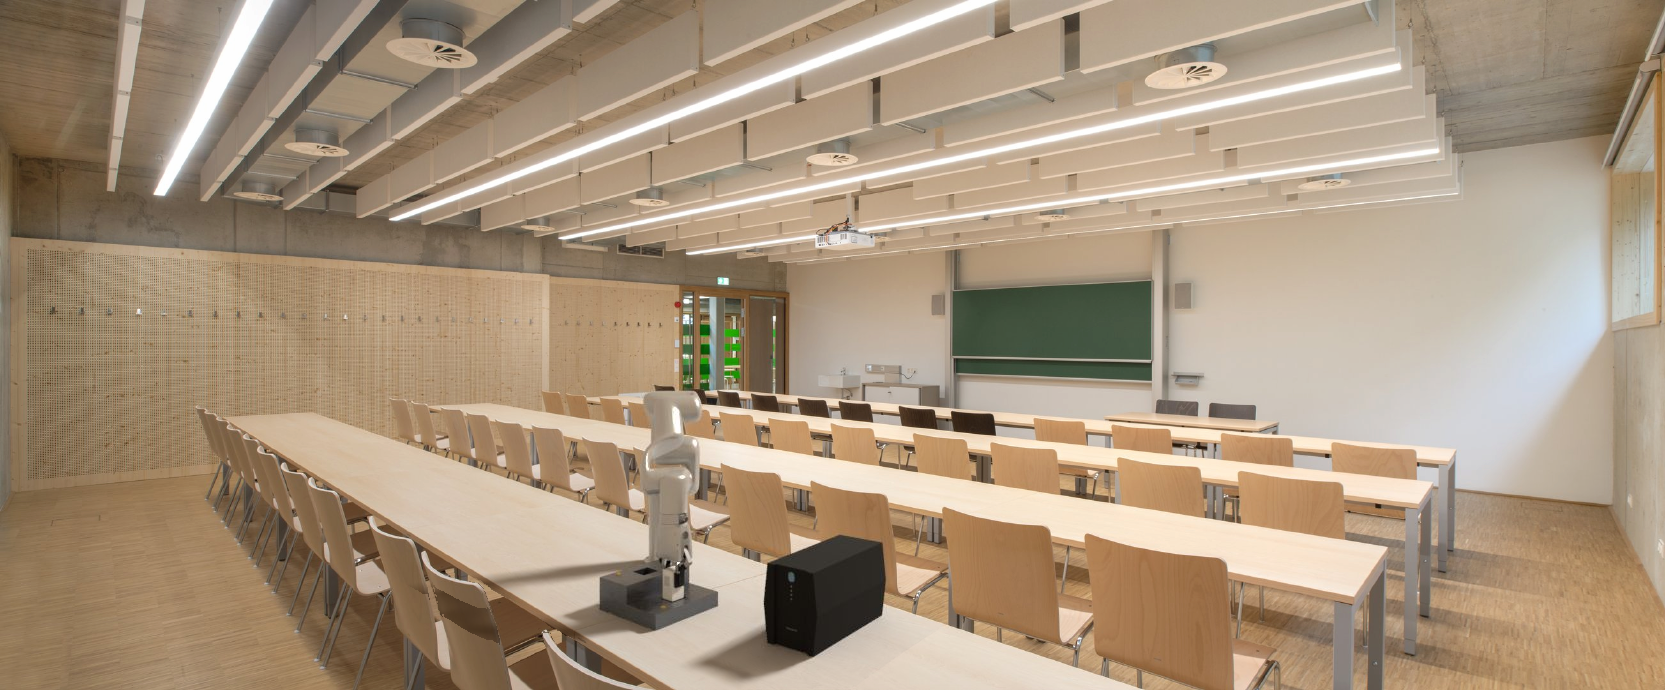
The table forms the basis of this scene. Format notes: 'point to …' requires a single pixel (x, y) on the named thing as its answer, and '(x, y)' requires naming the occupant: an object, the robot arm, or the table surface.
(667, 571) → the plug
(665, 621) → the panel
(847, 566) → the uninterruptible power supply
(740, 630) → the table surface
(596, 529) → the table surface
